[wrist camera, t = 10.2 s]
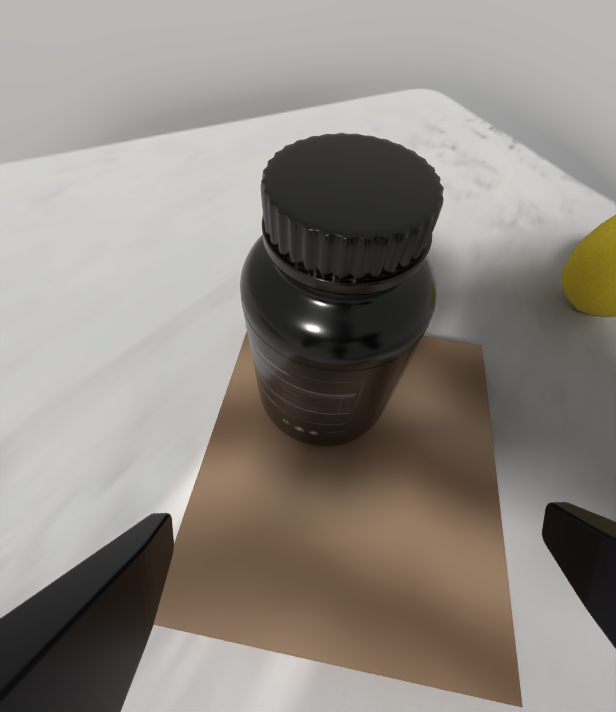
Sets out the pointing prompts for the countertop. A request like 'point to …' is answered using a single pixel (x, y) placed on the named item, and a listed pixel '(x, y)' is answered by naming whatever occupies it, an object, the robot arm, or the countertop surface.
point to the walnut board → (357, 535)
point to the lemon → (593, 272)
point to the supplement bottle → (339, 281)
